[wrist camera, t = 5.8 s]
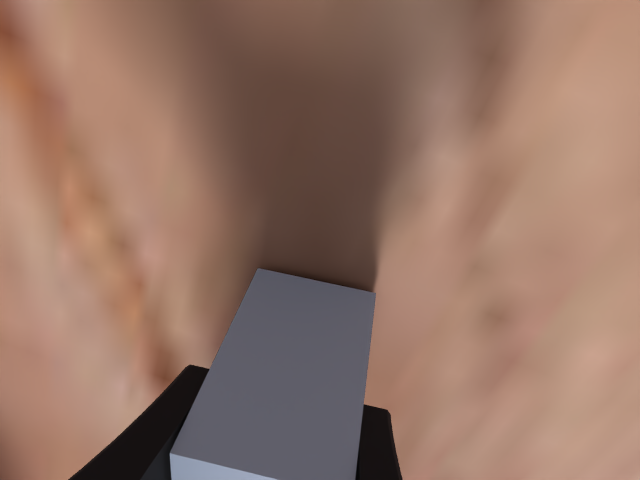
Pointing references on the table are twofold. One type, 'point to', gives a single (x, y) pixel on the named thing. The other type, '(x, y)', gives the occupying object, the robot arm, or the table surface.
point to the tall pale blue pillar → (282, 387)
